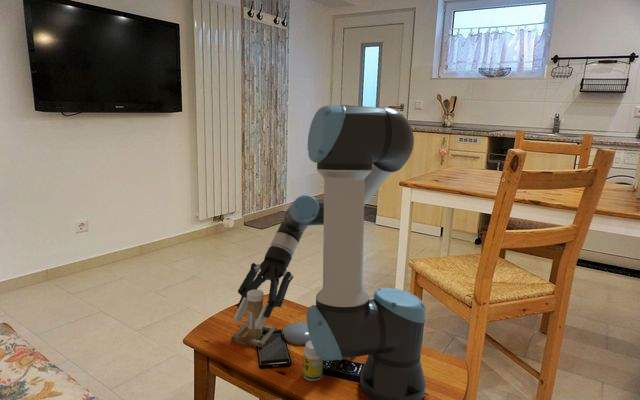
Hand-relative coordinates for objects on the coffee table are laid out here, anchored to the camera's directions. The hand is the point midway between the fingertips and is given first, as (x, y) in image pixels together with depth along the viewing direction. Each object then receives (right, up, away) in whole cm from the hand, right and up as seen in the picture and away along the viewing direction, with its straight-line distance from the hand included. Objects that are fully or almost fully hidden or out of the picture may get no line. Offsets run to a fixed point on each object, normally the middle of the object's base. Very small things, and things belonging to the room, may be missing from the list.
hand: (247, 324), depth 114 cm
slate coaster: (+15, -5, +6) cm, 17 cm away
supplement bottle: (+18, -9, -12) cm, 24 cm away
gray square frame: (+1, -5, +4) cm, 7 cm away
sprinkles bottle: (+1, -5, +4) cm, 7 cm away
